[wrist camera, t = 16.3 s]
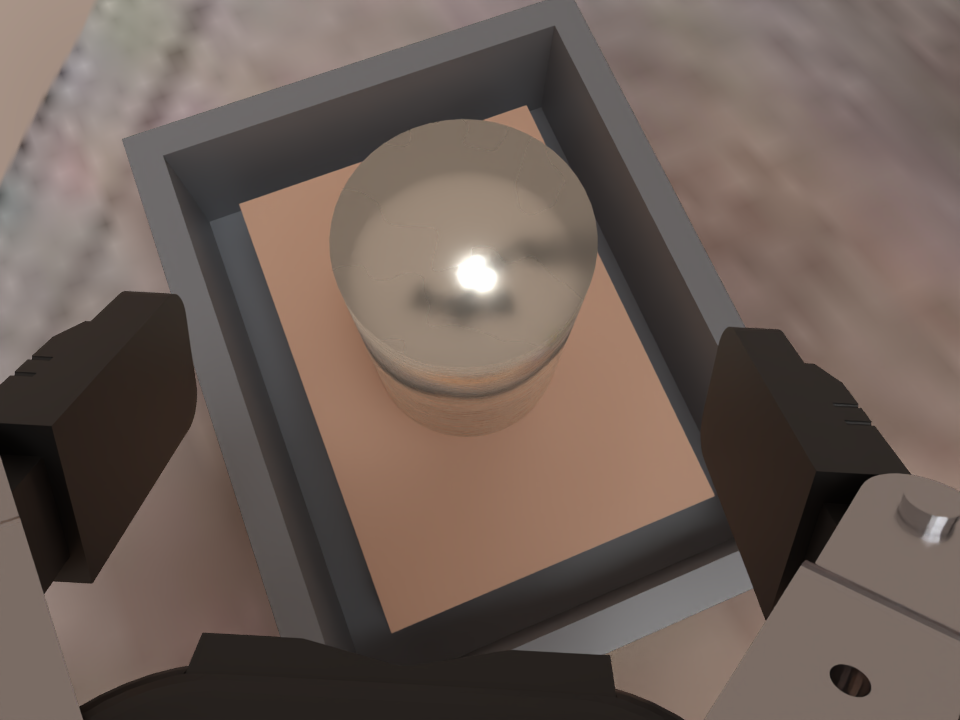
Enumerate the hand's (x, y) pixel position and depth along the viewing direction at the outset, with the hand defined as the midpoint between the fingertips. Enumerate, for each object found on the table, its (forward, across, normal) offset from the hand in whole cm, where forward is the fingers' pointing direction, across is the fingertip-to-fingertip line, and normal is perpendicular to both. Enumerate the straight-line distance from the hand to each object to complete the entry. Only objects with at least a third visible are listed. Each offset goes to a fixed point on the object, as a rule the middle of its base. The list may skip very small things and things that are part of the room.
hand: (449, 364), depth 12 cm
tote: (+14, 0, +8) cm, 16 cm away
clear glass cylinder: (+11, 0, +5) cm, 12 cm away
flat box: (+13, 0, +7) cm, 15 cm away
